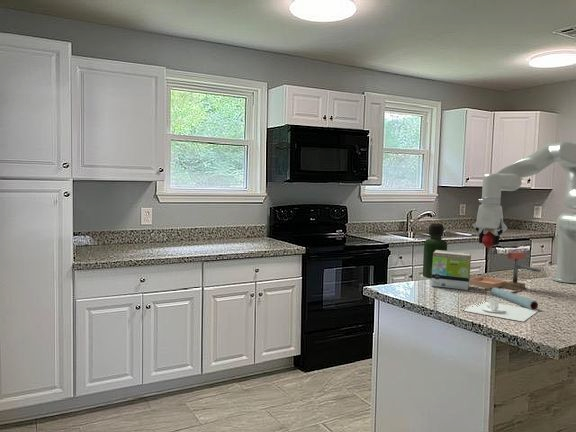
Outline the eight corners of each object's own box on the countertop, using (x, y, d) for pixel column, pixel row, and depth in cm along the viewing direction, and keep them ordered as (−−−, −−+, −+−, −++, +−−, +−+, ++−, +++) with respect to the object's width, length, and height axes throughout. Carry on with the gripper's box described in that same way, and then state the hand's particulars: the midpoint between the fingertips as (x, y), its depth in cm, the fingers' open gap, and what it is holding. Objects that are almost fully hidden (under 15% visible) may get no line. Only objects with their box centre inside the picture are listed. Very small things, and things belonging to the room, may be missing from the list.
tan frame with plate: (506, 284, 219) (506, 280, 218) (530, 289, 210) (530, 284, 210) (484, 289, 207) (484, 284, 207) (509, 294, 199) (509, 289, 199)
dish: (480, 281, 226) (481, 276, 225) (506, 285, 216) (506, 280, 216) (466, 283, 218) (466, 279, 218) (492, 288, 209) (492, 283, 209)
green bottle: (448, 279, 227) (451, 225, 225) (425, 279, 227) (428, 224, 225) (442, 275, 237) (444, 223, 235) (420, 274, 237) (422, 222, 236)
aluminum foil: (538, 310, 176) (538, 300, 176) (521, 310, 174) (522, 301, 174) (498, 295, 198) (498, 287, 198) (483, 296, 196) (483, 287, 196)
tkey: (506, 282, 212) (508, 252, 211) (520, 281, 214) (521, 252, 214) (530, 288, 200) (532, 257, 199) (544, 288, 202) (546, 256, 201)
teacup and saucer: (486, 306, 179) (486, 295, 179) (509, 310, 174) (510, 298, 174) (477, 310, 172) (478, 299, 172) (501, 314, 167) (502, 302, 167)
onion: (497, 249, 213) (498, 231, 212) (483, 249, 214) (483, 230, 213) (494, 248, 218) (495, 229, 218) (480, 247, 220) (481, 229, 219)
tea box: (430, 286, 210) (432, 252, 209) (433, 282, 219) (434, 249, 218) (468, 290, 204) (470, 254, 203) (469, 286, 213) (471, 251, 212)
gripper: (468, 201, 219) (465, 242, 220) (506, 203, 206) (503, 246, 207) (477, 201, 224) (474, 241, 225) (514, 203, 210) (512, 245, 212)
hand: (488, 243), depth 216 cm, fingers closed on onion, 5 cm apart
